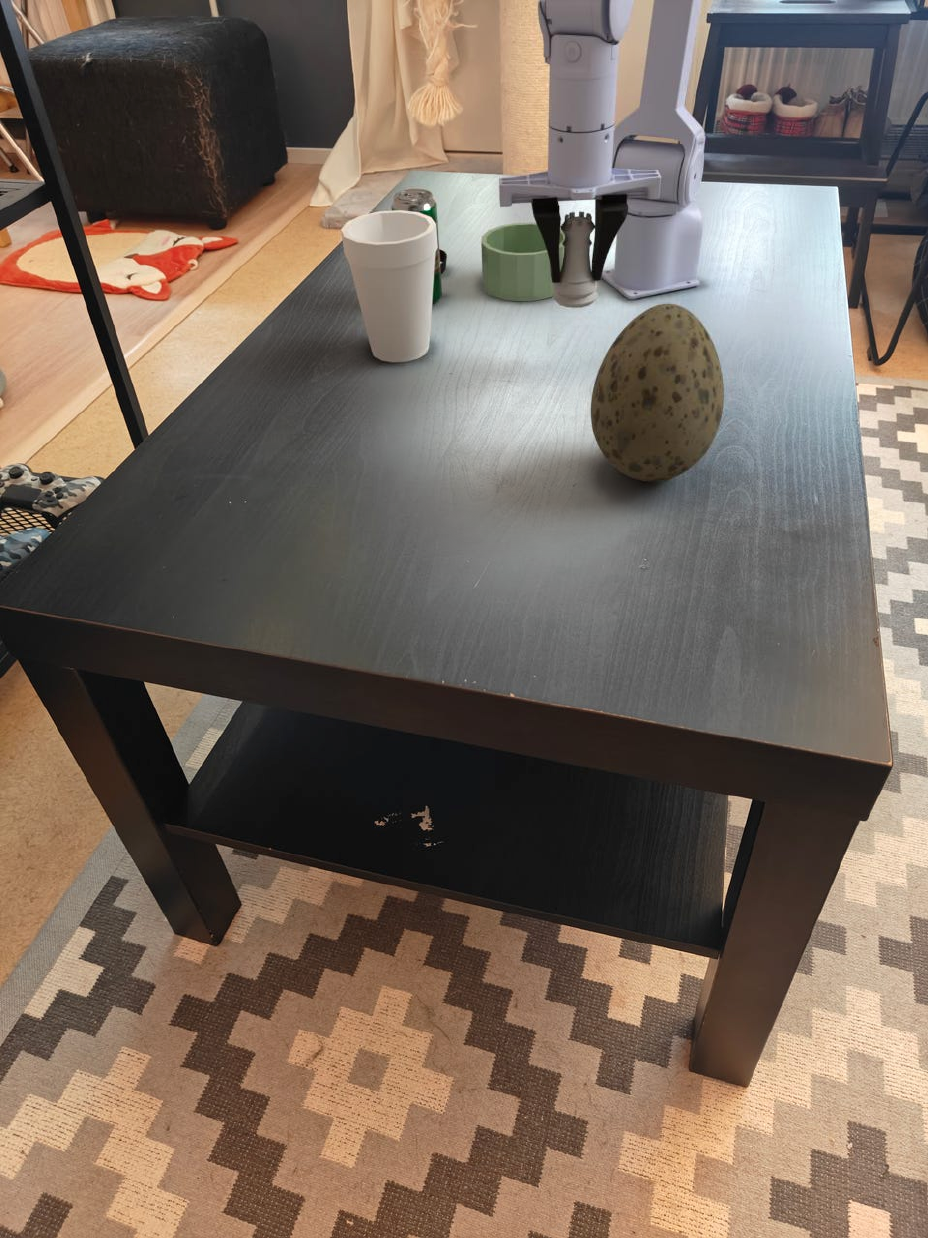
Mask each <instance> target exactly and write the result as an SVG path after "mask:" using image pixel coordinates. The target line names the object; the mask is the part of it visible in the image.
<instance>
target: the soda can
mask: <svg viewBox="0 0 928 1238" xmlns="http://www.w3.org/2000/svg"><path fill="white" fill-rule="evenodd" d="M433 196H434V195H433V192H432V191H430V190H428V189H424V188H408V189H404V190H400V191H398V192H396V193H395V194H393V202H392V204H391V207H390V209H391V211H395V210H403V211H412V212H419V213H422V214H424V215H427V216H430V217H432V219H433V220H434V222H435V223H436V231H437V247H438V248H437V250H436V252H435V266H434V283H433V299H432V306H434V305H435V304H437V303H438V302H439V301H440V299H441V298H442V296H443V290H442V289H443V287H442V274H441V270H440V264H441V262H440V254H439V249H440V239H439V223H438V207H437V206H438V205H437V202H436V201H435V199H434V198H433Z"/></svg>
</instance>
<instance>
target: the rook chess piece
mask: <svg viewBox="0 0 928 1238" xmlns="http://www.w3.org/2000/svg"><path fill="white" fill-rule="evenodd" d="M560 228H561V230H562V231H563V233H564V234H565V240H564V241H563V243H562V244H563V246H564V257H563V263H562V268H561V271H560V283H554V285H553V286H554V289H555V291H554V293H553V294H552V295H553V296H552V299H553V300H554V301H555V302H556V303H557V304H558V305H559V306H562V307H564V308H571V309H579V308H584V307H588V306H590V305H593V303H594V302H595V300H596V299H597V298H598V292H597V288H598V283H597V282H598V281H594V280H593V273H592V266H591V257H590V256H591V255H590V253H591V246H592V245H593V242H592V240H591V234H592V233H593V232H594V231H595V222H594V221H593V216H592V214H591V213H590V212H587V213H586V212H585V211H578V216H576V212H575V211H570V212H569V214H567V213H566V214H565V215H564V221H562V224H561V225H560Z"/></svg>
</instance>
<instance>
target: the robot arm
mask: <svg viewBox="0 0 928 1238" xmlns="http://www.w3.org/2000/svg"><path fill="white" fill-rule="evenodd" d="M634 3H635V0H538V1H537V16H538V24H539V28H540V32H541V34H542V39H543V58H544V63H545V64H547V65H549V81H548V82H549V84H548V85H549V87H548V89H549V90H548V97H549V98H548V146H547V147H548V150H547V171H546V170H545V171H541V172H536V173H535V172H534V173H529V174H523V175H517V176H509V177H499V178H498V200H499V201H498V202H499V207H500V208H508V207H512V206H513V205H515V204H516V205H517V204H518V205H519V204H531V210H532V215H533V218H534V221H535V223H536V224H537V226H538V228H539V230H540V233H541V235H542V238H543V240H544V243H545V246H546V249H547V252H548V256H549V260H550V269H551V279H552V283H560V262H559V240H560V228H561V227H560V226H561V225H562V224H561V223H562V217H561V213H560V209H561V208H560V203H559V202H576V201H594V225H595V228H594V237H593V238H594V239H593V247H592V256H591V272H592V273H593V280H594V281H596V282H601V281H602V279H603V280H604V281H606V282H607V283H608V284H609V285H611V287H613V288H614V289H615V290H617V291H618V292H619V293H620V294H622V295H623V296H624V297H626V299H629V300H634V299H635V300H636V299H639V298H644V297H649V296H654V295H659V294H663V293H668V292H674V291H678V290H683V289H688V288H694V287H698V286H699V285H700V284H701V283H700V279H698V277H697V276H698V270H699V263H700V255H701V248H702V240H703V233H704V223H703V222H704V221H703V215H702V211H701V209H700V207H699V204H697V202H696V201H695V199H696V198H697V195H698V193H699V190H700V187H701V182H702V179H703V173H704V164H705V155H704V154H705V153H704V152H705V144H706V143H705V142H706V132H705V130H704V128H703V127H702V125H701V124H700V123H699V121H697V120H696V118H695V117H694V116H693V115H692V114H691V113H690V112H689V110H688V109H687V108H686V106H685V105H686V99H687V93H688V86H689V81H690V75H691V69H692V62H693V56H694V49H695V44H696V36H697V30H698V24H699V18H700V11H701V5H702V0H653V4H652V10H651V11H652V13H651V18H650V19H651V20H650V27H649V33H648V41H647V47H646V48H647V49H646V55H645V63H644V68H643V69H644V70H643V78H642V85H641V93H640V99H639V106H638V108H636V109H635V110H633V111H632V112H630V113H629V114H628V115H627V116H625V117H624V118H622V119H621V120H620V121H618V122H617V124H616V125H615V123H616V122H615V120H616V119H615V118H616V107H617V106H616V105H617V88H618V87H617V86H618V72H619V58H620V45H621V44H620V41H621V40H622V39H623V38H624V36H625V34H627V31H628V29H629V26H630V24H631V23H630V22H631V19H632V14H633V10H634V9H633V8H634ZM638 136H640V137H648V138H661V139H671V140H675V141H678V142H679V143H676V142H667V141H666V142H665V141H664V142H663V141H655V140H644V139H636V138H637V137H638ZM615 238H616V239H615ZM614 241H615V253H614V266H613V269H612V268H611V269H606V270H604V268H605V264H606V261H607V258H608V255H609V253H610V250H611V247H612V245H613V243H614Z"/></svg>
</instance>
